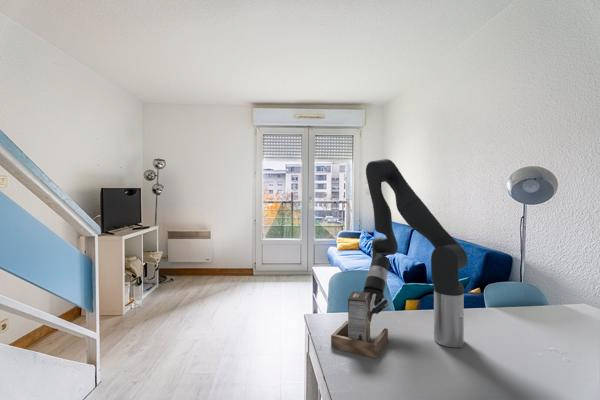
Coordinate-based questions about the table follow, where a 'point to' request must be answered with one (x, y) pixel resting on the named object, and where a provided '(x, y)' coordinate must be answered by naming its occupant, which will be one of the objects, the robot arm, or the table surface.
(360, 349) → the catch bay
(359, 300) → the coffee box
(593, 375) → the table surface
